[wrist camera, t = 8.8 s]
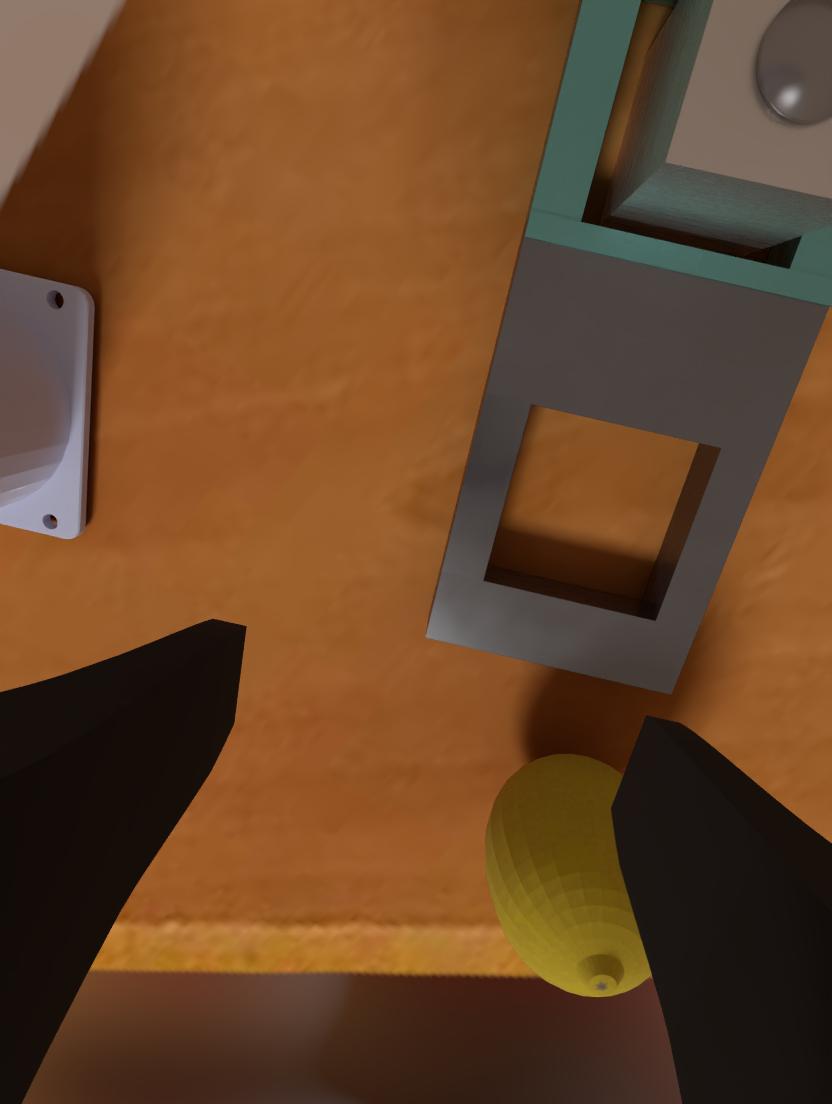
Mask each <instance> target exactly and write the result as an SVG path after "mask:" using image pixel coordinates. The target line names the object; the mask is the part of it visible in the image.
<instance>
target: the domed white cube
mask: <svg viewBox="0 0 832 1104" xmlns="http://www.w3.org/2000/svg"><path fill="white" fill-rule="evenodd" d="M831 225H832V0H679V1H678V3H677V4H676V6H675V8H674V9H673V11H672V13H671V14H670V16H669V18H668V19H667V21H666V23H665V24H664V26H663V28H662V29H661V31H660V33H659V34H658V36H657V38H656V39H655V41H654V43H653V44H652V46H651V48H650V49H649V51H648V53H647V54H646V58H645V61H644V65H643V68H642V72H641V76H640V79H639V83H638V87H637V90H636V94H635V97H634V101H633V105H632V108H631V112H630V116H629V119H628V123H627V126H626V130H625V134H624V137H623V141H622V145H621V148H620V152H619V155H618V159H617V163H616V166H615V170H614V174H613V177H612V181H611V184H610V188H609V192H608V195H607V199H606V203H605V206H604V210H603V213H602V217H601V221H600V224H599V226H603V227H608V228H612V229H617V230H621V231H626V232H630V233H635V234H639V235H644V236H649V237H653V238H658V239H662V240H667V241H671V242H676V243H680V244H685V245H689V246H694V247H698V248H703V249H707V250H712V251H717V252H721V253H726V254H730V255H735V256H739V257H742V256H745V255H747V254H750V253H753V252H756V251H759V250H762V249H765V248H768V247H771V246H773V245H776V244H779V243H782V242H785V241H788V240H791V239H794V238H796V237H799V236H802V235H805V234H808V233H811V232H814V231H817V230H819V229H822V228H825V227H828V226H831Z"/></svg>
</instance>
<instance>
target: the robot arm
mask: <svg viewBox="0 0 832 1104" xmlns="http://www.w3.org/2000/svg"><path fill="white" fill-rule="evenodd" d="M58 292H60V294H61V295H62V296H63V300H64V303H63V306H62V307H61V308H59V307H58V306H57V305H56V302H55V297H56V294H57V293H58ZM94 311H95V307H94V301H93V299H92V297H91V295H90V294H89V293H88V292H87V291H86V290H85V289H83V288H81V287H78V286H73V285H69V284H65V283H60V282H56V281H51V280H47V279H43V278H38V277H34V276H30V275H25V274H21V273H17V272H12V271H8V270H4V269H0V524H4V525H9V526H13V527H17V528H21V529H26V530H30V531H34V532H39V533H43V534H47V535H51V536H56V537H60V538H64V539H72V538H74V537H77V536H79V535H81V534H82V533H83V532H84V530H85V526H86V502H87V478H88V454H89V430H90V406H91V383H92V359H93V335H94ZM51 515H53V516H55V518H56V519H57V521H58V525H57V526H56V525H54V524H53V523H52V521H51V519H50V516H51ZM246 627H247V626H243V625H239V624H234V623H230V622H225V621H221V620H216V619H211V620H208V621H204V622H201V623H199V624H196V625H193V626H191V627H188V628H186V629H183V630H181V631H178V632H176V633H173V634H171V635H169V636H166V637H164V638H161V639H159V640H156V641H154V642H151V643H149V644H146V645H144V646H141V647H139V648H136V649H134V650H131V651H129V652H126V653H123V654H121V655H118V656H115V657H112V658H109V659H107V660H104V661H101V662H98V663H95V664H92V665H90V666H87V667H84V668H81V669H78V670H75V671H72V672H70V673H67V674H64V675H60V676H57V677H54V678H51V679H47V680H44V681H41V682H37V683H34V684H30V685H26V686H23V687H19V688H15V689H11V690H7V691H3V692H0V1104H22V1102H23V1100H24V1098H25V1095H26V1093H27V1091H28V1089H29V1087H30V1085H31V1083H32V1081H33V1079H34V1077H35V1075H36V1073H37V1071H38V1069H39V1067H40V1065H41V1063H42V1061H43V1059H44V1057H45V1055H46V1053H47V1051H48V1049H49V1047H50V1045H51V1043H52V1041H53V1039H54V1037H55V1035H56V1033H57V1031H58V1029H59V1027H60V1025H61V1023H62V1021H63V1020H64V1017H65V1015H66V1013H67V1012H68V1010H69V1008H70V1006H71V1004H72V1002H73V1000H74V998H75V996H76V994H77V992H78V990H79V988H80V986H81V984H82V982H83V981H84V978H85V977H86V975H87V973H88V971H89V969H90V967H91V965H92V964H93V962H94V960H95V958H96V956H97V954H98V952H99V950H100V949H101V947H102V945H103V943H104V941H105V939H106V937H107V935H108V934H109V932H110V930H111V928H112V926H113V924H114V922H115V920H116V919H117V917H118V915H119V913H120V911H121V909H122V908H123V906H124V904H125V903H126V901H127V900H128V898H129V896H130V895H131V893H132V891H133V890H134V888H135V886H136V885H137V883H138V881H139V880H140V878H141V877H142V875H143V874H144V872H145V871H146V869H147V868H148V866H149V865H150V863H151V862H152V860H153V859H154V857H155V856H156V854H157V853H158V851H159V850H160V848H161V847H162V845H163V844H164V842H165V841H166V839H167V838H168V836H169V835H170V833H171V832H172V830H173V829H174V827H175V826H176V824H177V823H178V821H179V820H180V818H181V817H182V815H183V814H184V812H185V811H186V809H187V808H188V806H189V805H190V803H191V802H192V800H193V799H194V797H195V795H196V794H197V792H198V791H199V789H200V788H201V786H202V785H203V783H204V782H205V780H206V778H207V777H208V775H209V774H210V772H211V770H212V768H213V766H214V764H215V762H216V760H217V758H218V756H219V754H220V752H221V750H222V748H223V746H224V744H225V742H226V740H227V738H228V736H229V734H230V731H231V729H232V727H233V725H234V721H235V713H236V705H237V697H238V690H239V682H240V674H241V666H242V658H243V650H244V642H245V634H246ZM611 814H612V821H613V828H614V836H615V842H616V848H617V854H618V860H619V865H620V869H621V872H622V876H623V879H624V883H625V886H626V890H627V893H628V897H629V900H630V903H631V907H632V910H633V914H634V917H635V920H636V924H637V927H638V930H639V934H640V937H641V940H642V943H643V947H644V950H645V953H646V957H647V960H648V963H649V967H650V970H651V973H652V977H653V980H654V983H655V987H656V990H657V993H658V996H659V1000H660V1003H661V1007H662V1011H663V1015H664V1018H665V1023H666V1026H667V1030H668V1034H669V1039H670V1044H671V1049H672V1054H673V1059H674V1064H675V1069H676V1074H677V1079H678V1084H679V1088H680V1093H681V1099H682V1104H832V843H830V842H829V841H828V840H826V839H825V838H824V837H822V836H821V835H820V834H818V833H817V832H816V831H815V830H813V829H812V828H811V827H809V826H808V825H807V824H806V823H804V822H803V821H802V820H801V819H799V818H798V817H797V816H796V815H794V814H793V813H792V812H791V811H789V810H788V809H787V808H786V807H784V806H783V805H782V804H781V803H780V802H778V801H777V800H776V799H775V798H773V797H772V796H771V795H770V794H769V793H767V792H766V791H765V790H764V789H763V788H761V787H760V786H759V785H758V784H757V783H755V782H754V781H753V780H752V779H751V778H749V777H748V776H747V775H746V774H745V773H744V772H742V771H741V770H740V769H739V768H738V767H736V766H735V765H734V764H733V763H732V762H730V761H729V760H728V759H727V758H726V757H724V756H723V755H722V754H721V753H720V752H718V751H717V750H716V749H715V748H714V747H712V746H711V745H710V744H709V743H707V742H706V741H705V740H704V739H702V738H701V737H700V736H698V735H697V734H696V733H694V732H693V731H692V730H690V729H689V728H687V727H686V726H684V725H683V724H681V723H678V722H673V721H669V720H664V719H660V718H655V717H651V716H646V718H645V720H644V723H643V726H642V728H641V731H640V733H639V736H638V739H637V741H636V744H635V746H634V749H633V752H632V754H631V757H630V760H629V762H628V765H627V767H626V770H625V773H624V775H623V778H622V780H621V783H620V786H619V788H618V791H617V794H616V796H615V799H614V801H613V804H612V807H611Z"/></svg>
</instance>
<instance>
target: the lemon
mask: <svg viewBox="0 0 832 1104" xmlns="http://www.w3.org/2000/svg"><path fill="white" fill-rule="evenodd" d="M622 778H623V775H622V774H621V773H619V772H618V771H617V770H615V769H614V768H612V767H611V766H610V765H607V764H605V763H603V762H601V761H598V760H596V759H593V758H591V757H588V756H582V755H576V754H553V755H549V756H546V757H542V758H538V759H536V760H534V761H532V762H530V763H528V764H526V765H524V766H523V767H522V768H520V769H519V770H518V771H517V772H516V773H515V774H514V775H512V776H511V777H510V778H509V779H508V780H507V782H506V783H505V785H504V786H503V788H502V789H501V791H500V792H499V794H498V796H497V797H496V799H495V802H494V805H493V808H492V811H491V814H490V818H489V821H488V825H487V830H486V838H485V855H486V875H487V881H488V886H489V890H490V894H491V897H492V900H493V903H494V906H495V909H496V912H497V915H498V918H499V921H500V923H501V926H502V928H503V931H504V933H505V935H506V937H507V938H508V940H509V942H510V944H511V945H512V946H513V948H514V949H515V951H516V952H517V953H518V955H519V956H520V957H521V959H522V960H523V961H524V962H525V963H526V965H527V966H529V967H530V968H531V969H532V970H533V971H534V972H536V973H537V974H538V975H539V976H541V977H542V978H543V979H544V980H546V981H547V982H549V983H551V984H553V985H555V986H557V987H559V988H561V989H563V990H565V991H567V992H571V993H574V994H578V995H582V996H591V997H603V996H612V995H616V994H619V993H623V992H626V991H628V990H630V989H632V988H634V987H636V986H638V985H640V984H641V983H642V982H643V981H644V980H646V979H647V978H648V977H649V976H650V975H651V974H652V973H651V970H650V967H649V963H648V960H647V957H646V953H645V950H644V947H643V943H642V940H641V937H640V934H639V930H638V927H637V924H636V920H635V917H634V914H633V910H632V907H631V903H630V900H629V897H628V893H627V890H626V886H625V883H624V879H623V876H622V872H621V869H620V865H619V860H618V854H617V848H616V842H615V836H614V828H613V821H612V814H611V807H612V804H613V801H614V799H615V796H616V794H617V791H618V788H619V786H620V783H621V780H622Z"/></svg>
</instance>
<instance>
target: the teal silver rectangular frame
mask: <svg viewBox="0 0 832 1104" xmlns="http://www.w3.org/2000/svg"><path fill="white" fill-rule="evenodd" d="M641 1H645V2H650V3H654V4H659V5H663V6H668V7H672V8H675V6H676V4H677V3H678V1H679V0H580V2H579V6H578V10H577V14H576V18H575V23H574V27H573V31H572V35H571V39H570V43H569V47H568V51H567V55H566V59H565V63H564V67H563V71H562V75H561V80H560V84H559V88H558V92H557V96H556V100H555V104H554V108H553V112H552V116H551V120H550V124H549V128H548V132H547V137H546V141H545V145H544V149H543V153H542V157H541V161H540V165H539V169H538V173H537V177H536V181H535V185H534V189H533V193H532V198H531V202H530V206H529V210H528V214H527V218H526V222H525V226H524V230H523V234H522V238H521V242H520V246H519V250H518V255H517V259H516V263H515V267H514V271H513V275H512V279H511V283H510V287H509V291H508V295H507V299H506V303H505V307H504V311H503V316H502V320H501V324H500V328H499V332H498V336H497V340H496V344H495V348H494V352H493V356H492V360H491V364H490V368H489V373H488V377H487V381H486V385H485V389H484V393H483V397H482V401H481V405H480V409H479V413H478V417H477V421H476V425H475V430H474V434H473V438H472V442H471V446H470V450H469V454H468V458H467V462H466V466H465V470H464V474H463V478H462V482H461V486H460V491H459V495H458V499H457V503H456V507H455V511H454V515H453V519H452V523H451V527H450V531H449V535H448V539H447V543H446V548H445V552H444V556H443V560H442V564H441V568H440V572H439V576H438V580H437V584H436V588H435V592H434V596H433V600H432V605H431V609H430V613H429V617H428V623H427V630H426V638H430V639H435V640H439V641H443V642H448V643H452V644H456V645H460V646H465V647H469V648H473V649H477V650H482V651H486V652H490V653H495V654H499V655H503V656H507V657H512V658H516V659H520V660H524V661H529V662H533V663H537V664H542V665H546V666H550V667H554V668H559V669H563V670H567V671H571V672H576V673H580V674H584V675H589V676H593V677H597V678H601V679H606V680H610V681H614V682H618V683H623V684H627V685H631V686H636V687H640V688H644V689H648V690H653V691H657V692H661V693H665V694H670V695H671V694H672V692H673V689H674V687H675V685H676V682H677V680H678V677H679V675H680V672H681V670H682V667H683V665H684V662H685V660H686V658H687V655H688V653H689V650H690V648H691V645H692V643H693V640H694V638H695V635H696V633H697V631H698V628H699V626H700V623H701V621H702V618H703V616H704V613H705V611H706V608H707V606H708V604H709V601H710V599H711V596H712V594H713V591H714V589H715V586H716V584H717V581H718V579H719V577H720V574H721V572H722V569H723V567H724V564H725V562H726V559H727V557H728V554H729V552H730V550H731V547H732V545H733V542H734V540H735V537H736V535H737V532H738V530H739V527H740V525H741V522H742V520H743V518H744V515H745V513H746V510H747V508H748V505H749V503H750V500H751V498H752V495H753V493H754V491H755V488H756V486H757V483H758V481H759V478H760V476H761V473H762V471H763V468H764V466H765V464H766V461H767V459H768V456H769V454H770V451H771V449H772V446H773V444H774V441H775V439H776V437H777V434H778V432H779V429H780V427H781V424H782V422H783V419H784V417H785V414H786V412H787V410H788V407H789V405H790V402H791V400H792V397H793V395H794V392H795V390H796V387H797V385H798V383H799V380H800V378H801V375H802V373H803V370H804V368H805V365H806V363H807V360H808V358H809V355H810V353H811V351H812V348H813V346H814V343H815V341H816V338H817V336H818V333H819V331H820V328H821V326H822V324H823V321H824V319H825V316H826V314H827V311H828V309H829V307H830V306H832V225H831V226H828V227H825V228H822V229H819V230H817V231H814V232H811V233H808V234H805V235H802V236H799V237H796V238H794V239H791V240H788V241H785V242H782V243H779V244H776V245H773V246H772V248H771V250H770V253H769V256H768V258H767V261H766V264H764V263H760V262H755V261H751V260H747V259H742V258H738V257H733V256H729V255H725V254H720V253H716V252H711V251H707V250H703V249H698V248H694V247H689V246H685V245H681V244H676V243H672V242H667V241H663V240H659V239H654V238H650V237H645V236H641V235H637V234H632V233H628V232H623V231H619V230H615V229H610V228H606V227H601V226H597V225H593V224H588V223H584V222H581V219H582V216H583V212H584V208H585V205H586V201H587V197H588V194H589V190H590V186H591V183H592V179H593V175H594V172H595V168H596V164H597V161H598V157H599V153H600V150H601V146H602V142H603V139H604V135H605V131H606V128H607V124H608V120H609V117H610V113H611V109H612V106H613V102H614V98H615V95H616V91H617V87H618V83H619V80H620V76H621V72H622V69H623V65H624V61H625V58H626V54H627V50H628V47H629V43H630V39H631V36H632V32H633V28H634V25H635V21H636V17H637V14H638V10H639V6H640V3H641ZM531 404H532V405H537V406H541V407H545V408H550V409H554V410H558V411H563V412H567V413H571V414H576V415H580V416H584V417H589V418H593V419H597V420H602V421H606V422H610V423H615V424H619V425H623V426H628V427H632V428H637V429H641V430H645V431H650V432H654V433H658V434H663V435H667V436H671V437H676V438H680V439H684V440H689V441H693V442H697V443H699V446H698V449H697V452H696V454H695V457H694V460H693V463H692V465H691V468H690V471H689V473H688V476H687V479H686V482H685V484H684V487H683V490H682V492H681V495H680V498H679V501H678V503H677V506H676V509H675V511H674V514H673V517H672V520H671V522H670V525H669V528H668V531H667V533H666V536H665V539H664V541H663V544H662V547H661V550H660V552H659V555H658V558H657V560H656V563H655V566H654V569H653V571H652V574H651V577H650V579H649V582H648V585H647V588H646V590H645V593H644V596H643V599H642V601H640V600H636V599H631V598H627V597H623V596H618V595H614V594H610V593H605V592H601V591H597V590H593V589H588V588H584V587H580V586H575V585H571V584H567V583H563V582H558V581H554V580H550V579H545V578H541V577H537V576H532V575H528V574H524V573H520V572H515V571H511V570H507V569H502V568H498V567H494V566H489V565H488V561H489V558H490V554H491V550H492V547H493V543H494V539H495V535H496V532H497V528H498V524H499V521H500V517H501V513H502V510H503V506H504V502H505V499H506V495H507V491H508V488H509V484H510V480H511V477H512V473H513V469H514V466H515V462H516V458H517V455H518V451H519V447H520V444H521V440H522V436H523V433H524V429H525V425H526V422H527V418H528V414H529V411H530V407H531Z"/></svg>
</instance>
